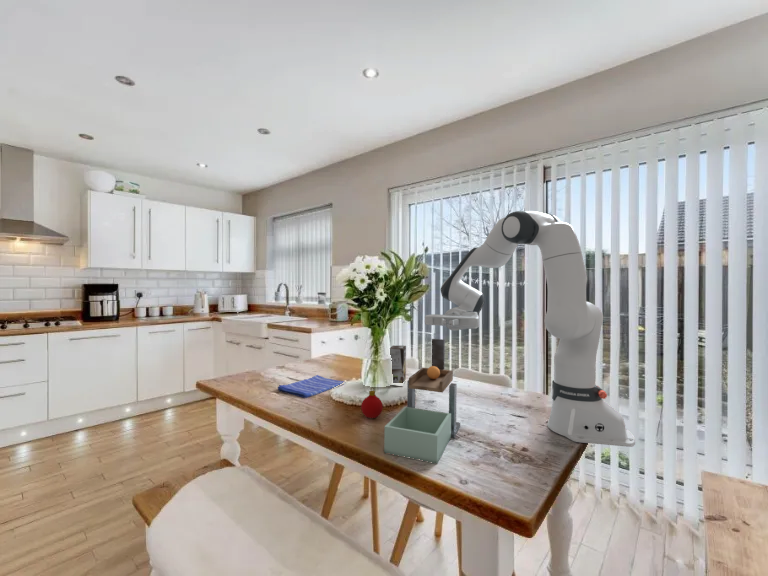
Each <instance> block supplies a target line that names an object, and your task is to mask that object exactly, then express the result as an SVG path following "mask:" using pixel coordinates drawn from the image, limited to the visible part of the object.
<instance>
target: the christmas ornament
mask: <svg viewBox="0 0 768 576" xmlns="http://www.w3.org/2000/svg"><path fill="white" fill-rule="evenodd" d="M383 406H384V405H383V402H382V400H381V399H380V398H379V397H378V396H377V395H376V391H375V388H374V387H371V388H370V390H369V391H368V396H367V397H365V398H364V399H363V400H362V403H361V404H360V408H361V409H360V410H361V412H362V413H361V414H363V415H364V416H365V417H366V418H368V419H377V418H378V417H380V415H381V414H382V412H383V408H384V407H383Z"/></svg>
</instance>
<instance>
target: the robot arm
mask: <svg viewBox="0 0 768 576" xmlns="http://www.w3.org/2000/svg"><path fill="white" fill-rule="evenodd" d="M577 236H578V235H577V234H576V232H575V230H574V228H573V226H572V225H571V224H569V223H568V222H564V221H561V220H560V218H559V217H557V216H556V215H553V214H551V213H547V212H546V213H544V212H539V211H535V210H526V211H525V210H518V211H517V210H516V211H512V212H510V213H508V214H507V215H506V216H505V217H502V218H500V219H499V220H498V221H497V222H496V223H495V224H494V226H492V228H491V230H490V232H489V234H488V235H487V236H486V238H485V241H484V242H483V243H482V245H480V246H479V247H473V248H471V249H470V250H469V251H468V252H467V253H466V254H465V256H464V257H463V259H462V260H461V261H460V262H459V264H457V266H456V267H455V268H454V270H453V272H452V273H451V274H450V275H449V277H447V279H445V280H444V282H443V283H442V285H441V287H440V293H441V297H442V298H443V299H445V300H447V301H450V302H452V303H453V304H454V305H456V306H455V307H452V308H450V309H448V310H447V311H445V313H444V314H437V313H435V314H433V313H432V314H426V315H425V316H424V324H425V325H427V326H440V327H446V328H447V329H449V330H450V331H453V332H456V331H457V332H458V331H460V330H461V331H462V330H475V329H476V330H477V328H479V327H480V326H479V325H480V320H479V319H480V316H479V313H480V312H481V311H482V309H483V307H484V304H485V295H484V293H483V292H481V291H480V290H478V289H476V288H475V287H473V286H471V285H470V284H467V283H466V282H464V281H463V280H462V277H463V276H464V275H465V274H466V273H467V271H469V269H470V268H472V267H480V268H481V267H482V268H487V269H496V268H497V269H498V268H501V267H504V266H505V265H506V264H507V263H508V262H509V260H510V259H511V257H512V256H513V255H514V252H515V251H516V249H517V248H518V246H519V245H527V246H537V247H538V248H539V250H540V252H541V260H542V264H543V269H544V273H545V274H544V275H545V280H546V284H547V285H546V286H547V304H546V305H547V311H546V313H545V315H544V325H545V329H546V331H547V332H548V333H549V334H550V335H552V336H553V337H555V338H557V339H559V340H558V341H559V342H558V345H557V348H556V350H555V352H554V356H553V357H554V358H553V362H554V363H553V380H552V383H551V398H552V403H551V404H552V405H551V409H550V415H549V418H548V420H547V421H548V422H547V428H548V429H549V430H551V431H552V432H554V433H556V434H559V435H561V436H563V437H565V438H567V439H569V440H570V441H572V442H575V443H584V444H594V445H595V444H597V445H607V446H617V447H629V448H633V447H635V446H636V437H635V436H634V434H633V433H632V432H631V431H630V430H629V429H628V428H626V424H625V423H626V422H625V420H624V418H623V416H622V414H621V413H620V412H619V410H617V409H615V408H614V407H613V406H612V405H610V404H609V403H608V402H607V401H606V398H608V393H606V391H605V390H603V389H602V388H601V387H600V386H599V385H596V363H597V362H596V361H597V354H598V353H597V352H598V348H599V343H600V338H601V330H602V326H603V322H604V314H603V312H602V311H601V309H600V307H598V306H597V305H596V304H594V303H591V302H590V301H587V282H588V275H587V270H586V266H585V262H584V261H585V260H584V257H583V252H582V249H581V245H580V242H579V240H578V239H579V238H578V237H577Z"/></svg>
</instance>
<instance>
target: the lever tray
mask: <svg viewBox="0 0 768 576" xmlns="http://www.w3.org/2000/svg"><path fill="white" fill-rule="evenodd" d="M445 341H446V340H445V339H441V338H431V361H430V362H431V365H430V367H431V366H436V367H437V368H438V369H439V370H440V375H439V377H438V378H437V379H431V378H429V377H428V375H427V370H428V368H429V367H421V368H420V369H419V370H417V371H416V372H415V373H414V374H412V375H411V376H409V378H408V380H409V388H411V389H415V390H418V391H429V392H434V393H435V392H437V393H441V394H443V393H444V391H445V390H446V389H447V388H448V387H449V385H450V384H451V383H453V379H454V377H453V376H454V374H453V373H454V370H451V369H445V359H446V358H445V353H446V352H445V351H446V349H445V345H446V342H445Z"/></svg>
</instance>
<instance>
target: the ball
mask: <svg viewBox="0 0 768 576" xmlns="http://www.w3.org/2000/svg"><path fill="white" fill-rule="evenodd" d="M427 368H428V370H427V375H428V377H429V378H431V379H437V378H438V377H439V375H440V370H439V369H438V368H437V367H436V366H431V365H430V366H429V367H427Z"/></svg>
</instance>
